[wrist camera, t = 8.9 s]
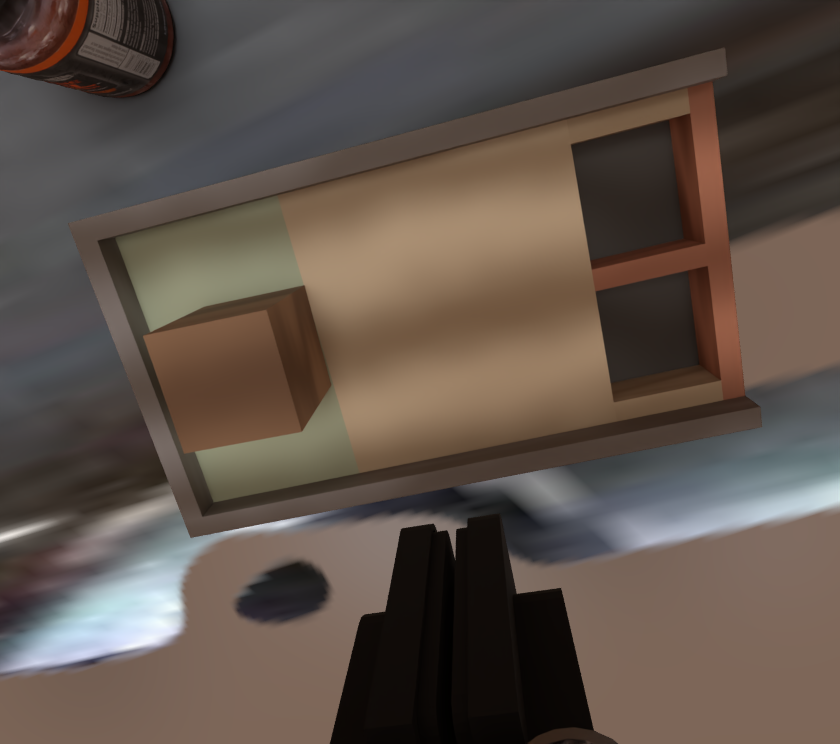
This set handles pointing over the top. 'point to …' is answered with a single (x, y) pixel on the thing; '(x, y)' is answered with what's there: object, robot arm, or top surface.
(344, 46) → the top surface
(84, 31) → the supplement bottle
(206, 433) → the walnut block
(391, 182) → the box
